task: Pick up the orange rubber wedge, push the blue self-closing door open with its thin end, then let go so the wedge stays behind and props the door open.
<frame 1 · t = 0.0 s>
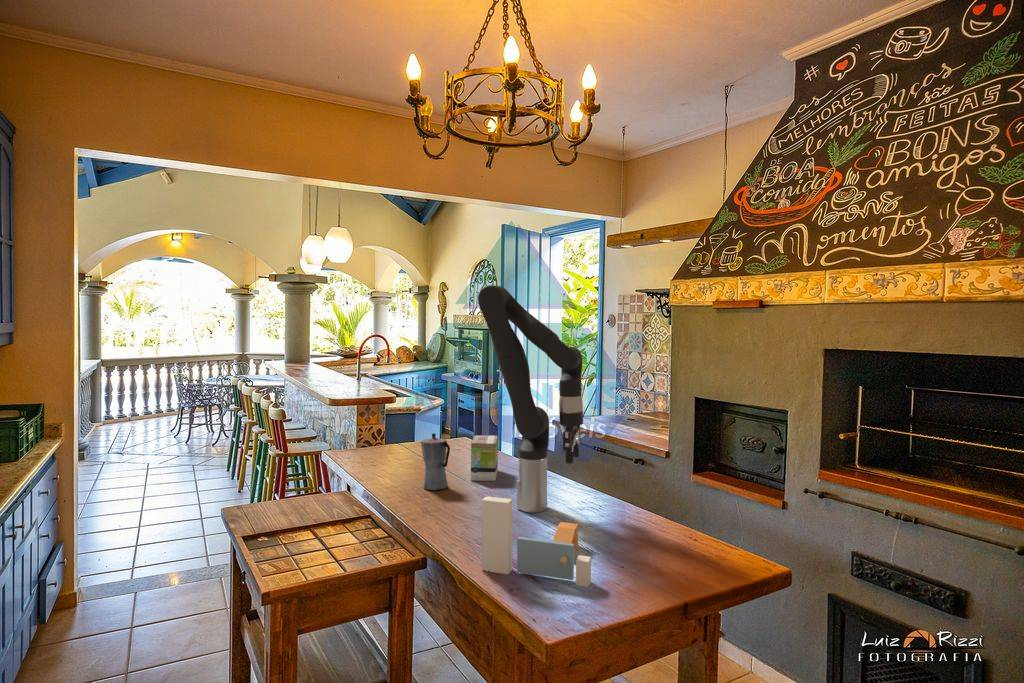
hand: (572, 459, 185), 17 cm above the table, tool pointing down, fingers open, 8 cm apart
moka pot: (436, 488, 212), on the table
door: (544, 559, 140), point 5 cm above the table, hinge at 0.0°
tea box: (484, 476, 228), on the table
door frame: (514, 572, 144), on the table
rubber wedge: (564, 551, 156), on the table
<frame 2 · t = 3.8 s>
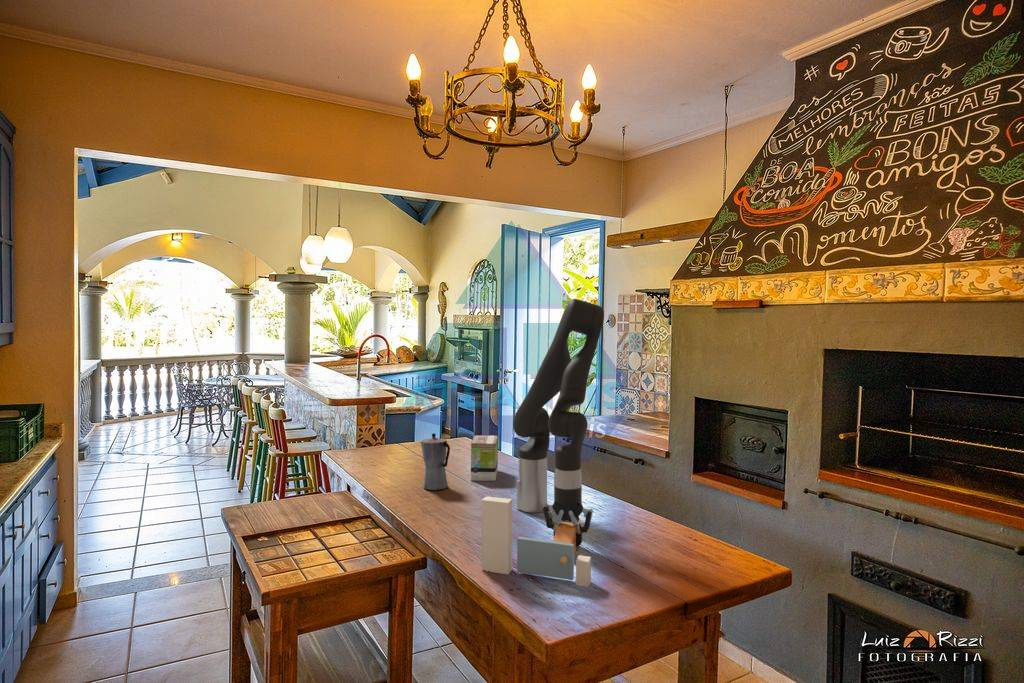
hand: (567, 544, 159), 1 cm above the table, tool pointing down, fingers closed on rubber wedge, 5 cm apart
rubber wedge: (564, 551, 156), on the table, touching gripper
everything else where it was.
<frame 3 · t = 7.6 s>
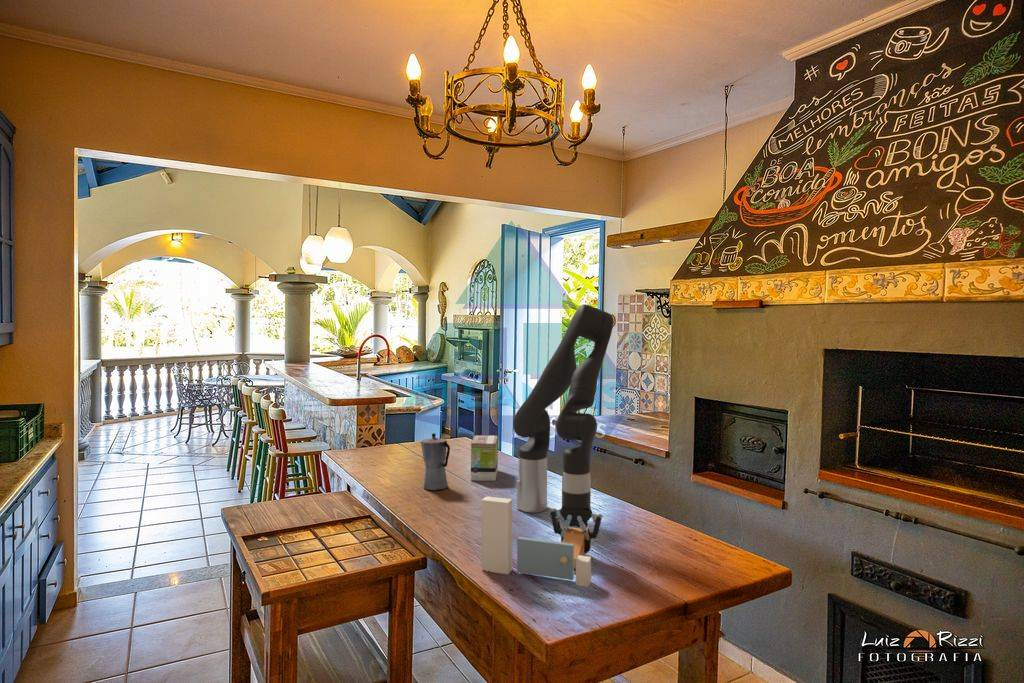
hand: (575, 550, 153), 1 cm above the table, tool pointing down, fingers closed on rubber wedge, 5 cm apart
rubber wedge: (572, 558, 150), point 1 cm above the table, touching gripper
everything else where it was.
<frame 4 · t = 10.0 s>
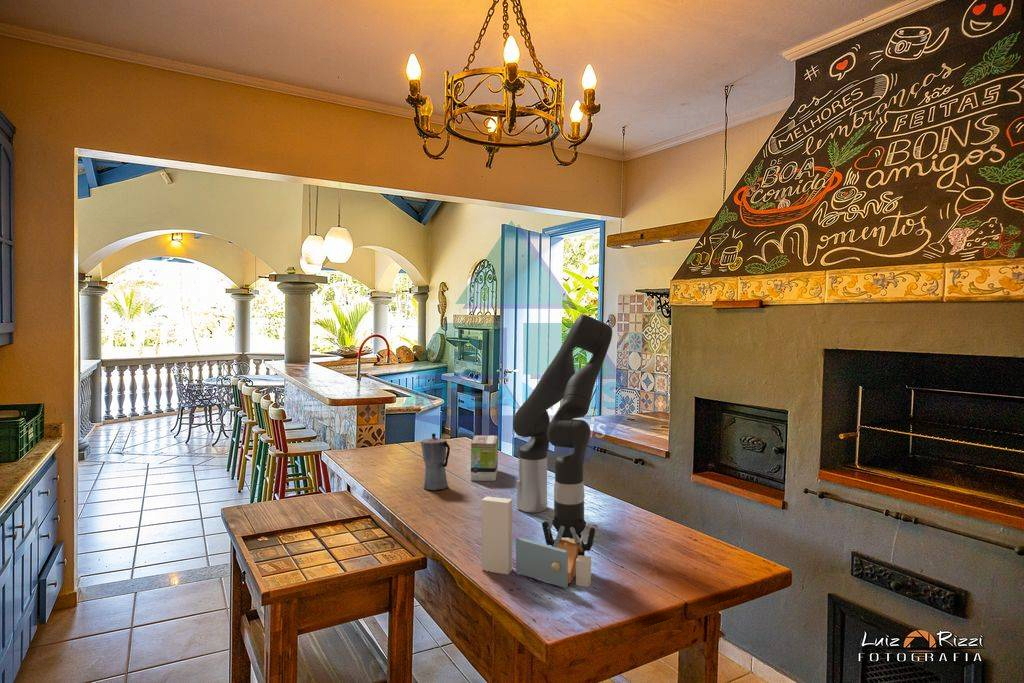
hand: (569, 562, 146), 1 cm above the table, tool pointing down, fingers closed on rubber wedge, 5 cm apart
door: (539, 562, 138), point 5 cm above the table, hinge at 16.8°, touching rubber wedge
rubber wedge: (565, 571, 142), point 1 cm above the table, touching door, gripper
everything else where it was.
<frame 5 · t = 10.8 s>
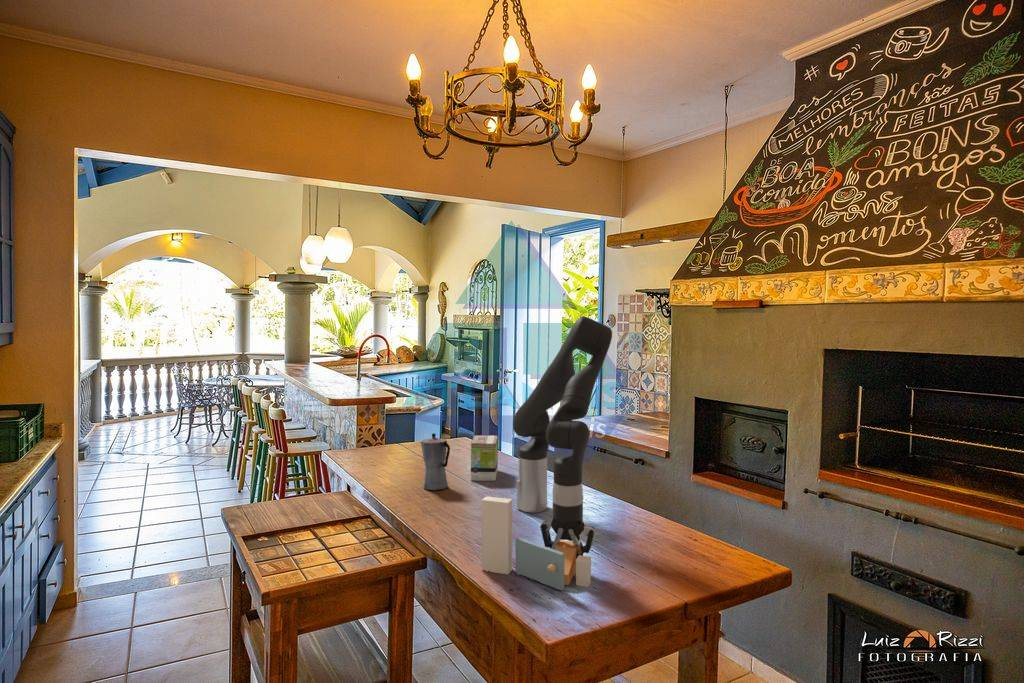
hand: (567, 564, 145), 1 cm above the table, tool pointing down, fingers closed on rubber wedge, 5 cm apart
door: (537, 563, 137), point 5 cm above the table, hinge at 22.6°, touching rubber wedge
rubber wedge: (563, 573, 142), point 1 cm above the table, touching door, gripper
everything else where it was.
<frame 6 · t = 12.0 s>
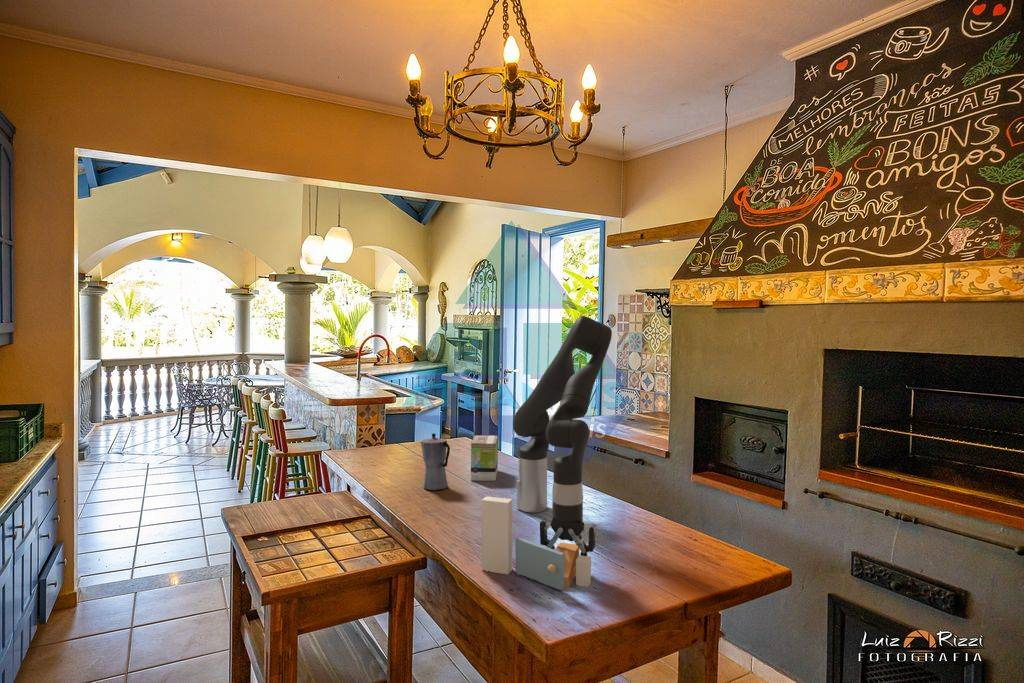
hand: (567, 564, 144), 2 cm above the table, tool pointing down, fingers open, 7 cm apart
everything else where it was.
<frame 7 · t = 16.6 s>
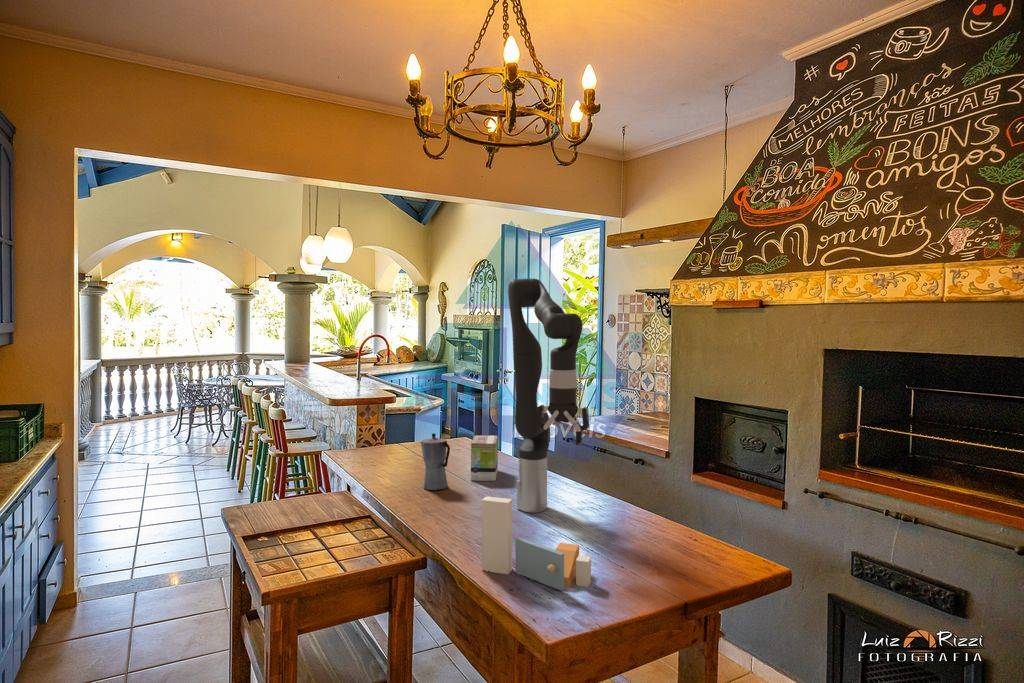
hand: (562, 443, 160), 28 cm above the table, tool pointing down, fingers open, 8 cm apart
nothing on the table moved.
at the end: door at +23° (first picture: +0°); rubber wedge touching door, table; the gripper is holding nothing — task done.
